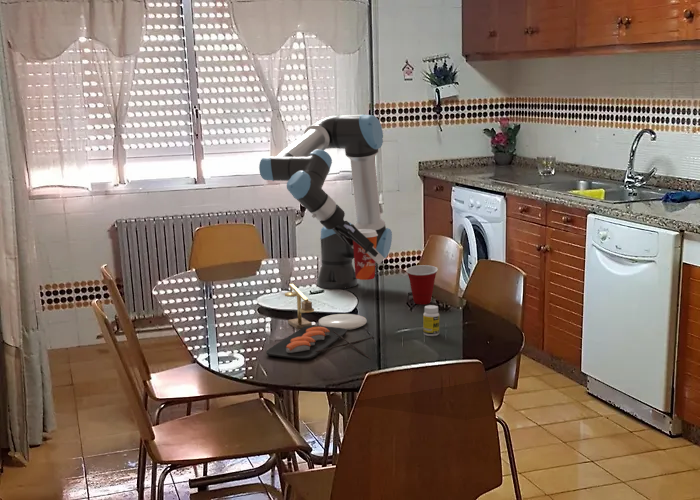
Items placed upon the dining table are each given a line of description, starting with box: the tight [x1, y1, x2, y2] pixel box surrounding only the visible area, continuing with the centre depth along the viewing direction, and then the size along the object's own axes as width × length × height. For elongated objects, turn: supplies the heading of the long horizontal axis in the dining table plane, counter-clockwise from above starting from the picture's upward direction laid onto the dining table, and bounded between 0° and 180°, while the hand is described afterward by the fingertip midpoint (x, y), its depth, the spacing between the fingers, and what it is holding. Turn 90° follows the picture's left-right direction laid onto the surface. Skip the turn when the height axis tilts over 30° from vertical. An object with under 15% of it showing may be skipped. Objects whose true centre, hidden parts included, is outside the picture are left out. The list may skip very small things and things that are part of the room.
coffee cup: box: [353, 229, 378, 281], centre depth 251 cm, size 8×8×15 cm
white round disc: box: [318, 313, 368, 331], centre depth 251 cm, size 15×15×1 cm
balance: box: [284, 283, 315, 330], centre depth 250 cm, size 16×5×12 cm, turn 27°
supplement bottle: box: [422, 304, 440, 337], centre depth 238 cm, size 5×5×8 cm
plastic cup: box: [405, 264, 439, 305], centre depth 273 cm, size 11×11×12 cm
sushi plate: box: [265, 325, 374, 361], centre depth 228 cm, size 29×30×4 cm
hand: (374, 258), depth 253 cm, fingers closed on coffee cup, 8 cm apart
